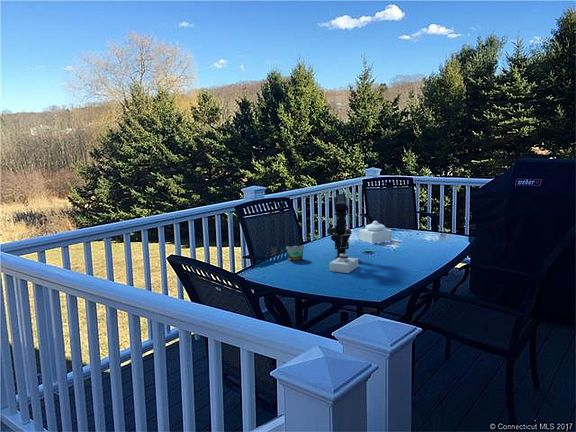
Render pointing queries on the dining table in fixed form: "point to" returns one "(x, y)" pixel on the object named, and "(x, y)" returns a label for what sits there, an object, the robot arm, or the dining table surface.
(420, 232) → the dining table surface
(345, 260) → the steel lens
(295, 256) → the food container
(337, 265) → the camera body
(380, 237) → the butter dish
